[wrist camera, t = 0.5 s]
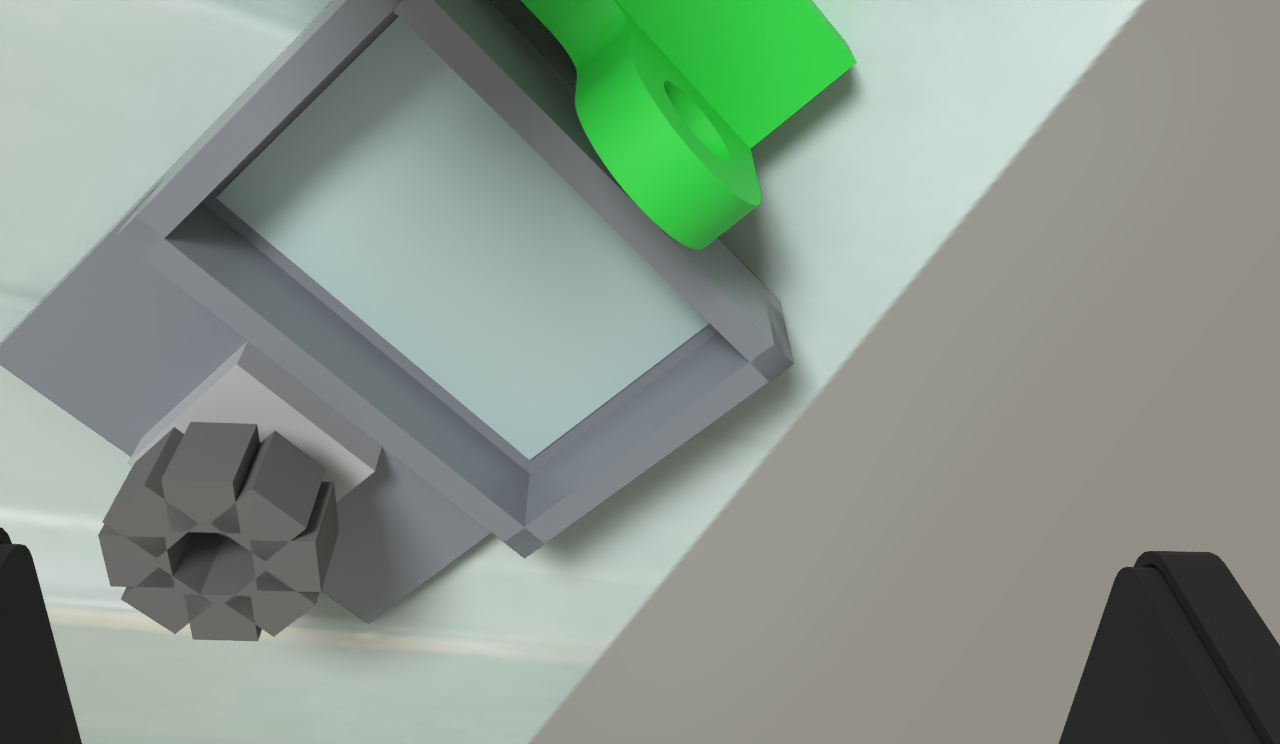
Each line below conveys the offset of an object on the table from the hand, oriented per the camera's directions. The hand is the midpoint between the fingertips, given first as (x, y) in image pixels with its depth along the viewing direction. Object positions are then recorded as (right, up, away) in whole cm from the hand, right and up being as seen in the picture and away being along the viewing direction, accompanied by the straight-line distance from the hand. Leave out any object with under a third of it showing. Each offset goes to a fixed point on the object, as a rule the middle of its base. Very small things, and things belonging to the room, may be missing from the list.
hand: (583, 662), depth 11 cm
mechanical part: (+1, +15, +25) cm, 29 cm away
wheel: (-13, -2, +30) cm, 33 cm away
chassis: (-8, +4, +32) cm, 33 cm away
